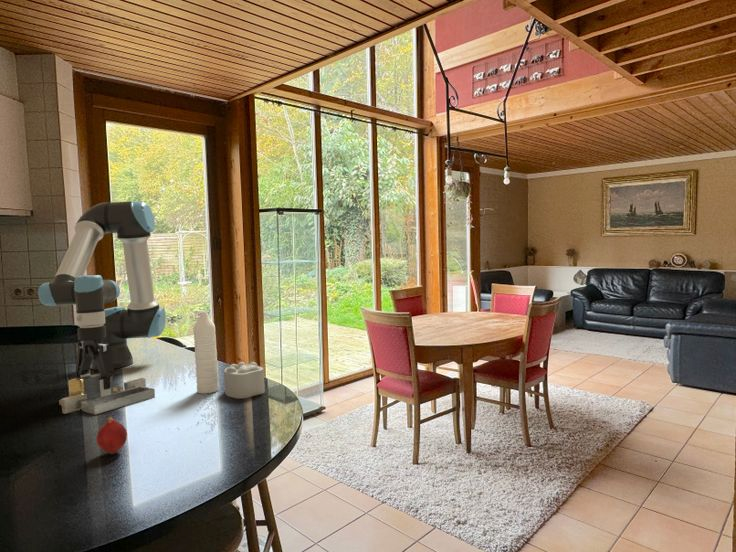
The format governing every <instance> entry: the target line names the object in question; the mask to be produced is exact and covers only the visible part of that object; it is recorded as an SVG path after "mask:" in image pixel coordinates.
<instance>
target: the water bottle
mask: <svg viewBox="0 0 736 552" xmlns="http://www.w3.org/2000/svg"><path fill="white" fill-rule="evenodd" d="M195 314H196V315H199V317H198V319H197V320H196V322H195V324H194V325H193V341H194V344H193V345H194V359H195V361H194V362H195V375H196V392H197V393H198V394H202V395H203V394H212V393H216V392H217V391H219V389H220V386H219V376H218V375H219V369H218V368H219V367H218V366H219V365H218V358H217V356H218V352H217V337H216V336H217V335H216V334H217V333H216V325H215V323H214V322H213V321H212V319H211V318H210V316H209V314H208V311H205V310H204V309H198V310H195Z"/></svg>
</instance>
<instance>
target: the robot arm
mask: <svg viewBox="0 0 736 552" xmlns="http://www.w3.org/2000/svg"><path fill="white" fill-rule="evenodd" d="M155 224H156V222H155V216H154V213H153V210H152V209H151V207H150V206H149V205H148V203H147V202H144V201H134V200H131V201H116V202H115V201H113V202H111V201H109V202H108V201H105V202H104V201H103V202H101V203H97V204H96V205H92V207H90V208H88V209H87V210H86V211H85V212H84V213H83V214H82V215H80V217H79V218H78V220H77V222H76V224H75V226H74V232H75V233H74V236H73V238H72V239H71V242H70V244H69V246H68V247H67V250H66V252H65V254H64V256H63V258H62V261H61V264H60V265H59V267H58V269H57V271H56V273H55V275H54V278H53V279H52V281H48V282H44V283H42V284H41V285H40V286H39V287H38V292H37V293H38V294H37V295H38V299H39V301H40V303H41V304H42V305H43V306H46V307H52V306H53V307H60V306H72V305H73V306H74V305H75V309H76V311H75V313H76V316H75V320H76V326H77V327H78V328H77V329H76V330H77V339H78V342H77V344H76V345H77V355H76V366H75V373H78V374H79V375H80V378H81V377H85V376H90V375H92V374H91V373H92V371H91V370H93V371H97V370H98V374H99V373H100V376H101V377H100V378H99V380H100V393H101V397H102V396H106V395H109V394H111V386H110V378H111V377H112V376H113V377H115V375H116V374H115V371H114V369H120V368H124V367H128V366H131V365H132V364H134V360H133V359H134V358H133V355H132V353H131V351H130V349H129V345H128V342H127V341H128V339H142V338H149V339H150V338H156V337H159V336H161V335H162V334H163V332H164V330H165V326H166V320H167V316H166V315H167V314H166V310H165V309H166V308H164V307H162V306H161V307H160V302H159V301H158V300H156V299H155V295H154V293H155V292H154V285H153V279H152V270H151V262H150V254H149V246H148V240H149V239H150V237H151V236H152V235H151V233H152V232H154V231H155ZM106 234H116V236H117V237H116V238H117V239H118V241H120V242H122V249H123V255H124V256H123V257H124V262H125V267H126V268H125V270H126V275H127V276H126V277H127V278H126V279H127V283H128V285H127V286H128V293H129V297H130V303H129V304H128V305H127V306H126V308H127V309H126V308H125V306H124V305H121V306H113V307H108V308H105V304H107V303H108V304H110V303H112V302H114V301H115V300H117V299H118V298H119V296H120V294H121V289H120V285H119V283H117V282H116V281H114V280H111V279H103V277H102V275H100V274H95V275H91V274H90V275H89V274H88V275H85V273H86V271H87V268H88V266H89V263H90V261H91V259H92V256H93V254H94V251H95V249H96V246H97V244H98V242H99V241H101V240H102V239H103V238H104V236H105V235H106Z"/></svg>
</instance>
